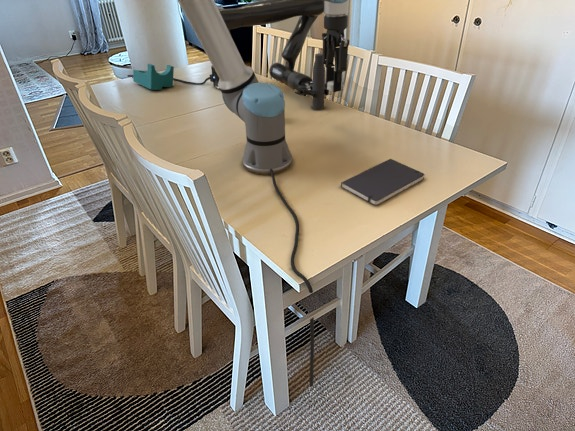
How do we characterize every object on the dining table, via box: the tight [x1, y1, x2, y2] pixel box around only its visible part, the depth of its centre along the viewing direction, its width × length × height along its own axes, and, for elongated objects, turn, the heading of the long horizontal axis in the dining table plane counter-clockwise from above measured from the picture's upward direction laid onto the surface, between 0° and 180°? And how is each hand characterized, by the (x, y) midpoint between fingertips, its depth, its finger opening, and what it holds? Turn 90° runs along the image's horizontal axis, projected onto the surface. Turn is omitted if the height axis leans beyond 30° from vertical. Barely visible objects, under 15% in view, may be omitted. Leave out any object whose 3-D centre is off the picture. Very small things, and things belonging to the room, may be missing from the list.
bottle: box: [311, 52, 326, 111], centre depth 157 cm, size 5×5×21 cm
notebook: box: [340, 158, 425, 206], centre depth 114 cm, size 13×2×21 cm
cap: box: [327, 81, 333, 92], centre depth 139 cm, size 4×4×2 cm
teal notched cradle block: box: [132, 63, 175, 91], centre depth 189 cm, size 18×11×10 cm, turn 43°
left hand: (322, 94), depth 158 cm, fingers closed on bottle, 4 cm apart
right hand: (333, 88), depth 139 cm, fingers closed on cap, 4 cm apart
